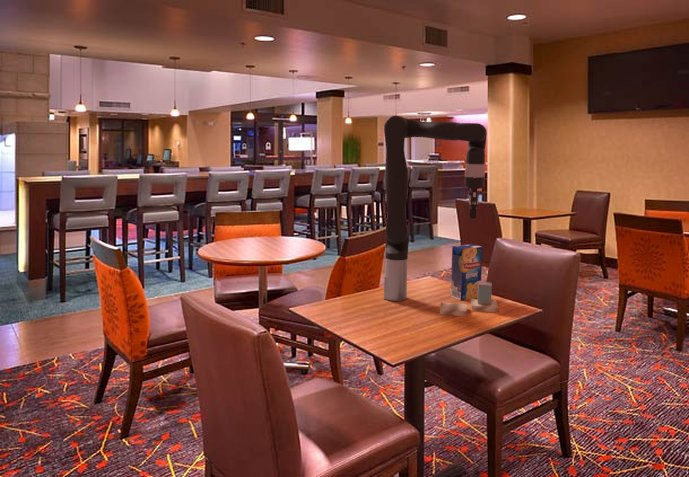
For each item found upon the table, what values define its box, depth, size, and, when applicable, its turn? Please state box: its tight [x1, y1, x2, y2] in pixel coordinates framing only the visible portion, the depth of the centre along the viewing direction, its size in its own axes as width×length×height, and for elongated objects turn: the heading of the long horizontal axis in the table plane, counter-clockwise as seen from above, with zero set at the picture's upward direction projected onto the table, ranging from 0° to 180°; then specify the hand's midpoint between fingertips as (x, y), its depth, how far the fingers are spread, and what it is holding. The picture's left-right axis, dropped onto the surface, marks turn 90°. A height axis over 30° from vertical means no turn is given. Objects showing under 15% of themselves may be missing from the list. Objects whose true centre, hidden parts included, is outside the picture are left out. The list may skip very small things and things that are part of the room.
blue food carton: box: [449, 243, 484, 301], centre depth 233 cm, size 7×11×22 cm, turn 121°
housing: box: [476, 281, 493, 305], centre depth 218 cm, size 5×5×8 cm
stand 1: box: [439, 301, 468, 317], centre depth 214 cm, size 10×10×2 cm
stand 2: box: [470, 298, 499, 313], centre depth 219 cm, size 10×10×2 cm
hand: (472, 217), depth 216 cm, fingers open, 8 cm apart
